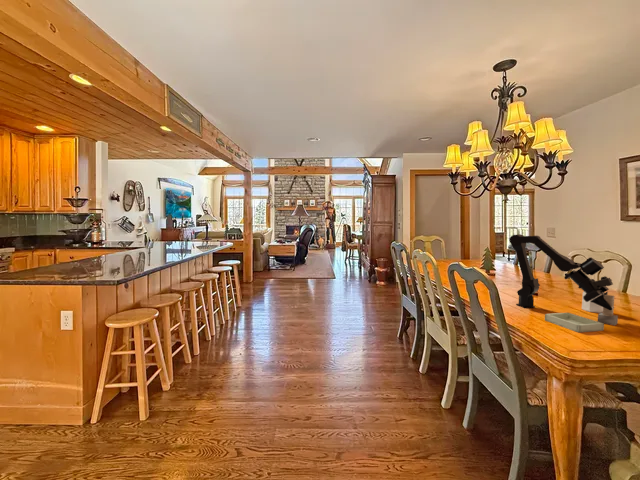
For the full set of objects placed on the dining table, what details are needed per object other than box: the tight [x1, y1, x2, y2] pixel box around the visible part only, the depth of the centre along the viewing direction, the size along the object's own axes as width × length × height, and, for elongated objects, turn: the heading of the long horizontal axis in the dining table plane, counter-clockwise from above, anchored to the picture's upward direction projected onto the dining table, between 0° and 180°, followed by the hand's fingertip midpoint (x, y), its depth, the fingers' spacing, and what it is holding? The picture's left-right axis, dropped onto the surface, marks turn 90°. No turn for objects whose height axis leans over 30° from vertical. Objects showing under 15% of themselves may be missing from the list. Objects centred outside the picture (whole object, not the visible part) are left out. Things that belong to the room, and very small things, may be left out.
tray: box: [544, 312, 605, 333], centre depth 142 cm, size 16×13×3 cm
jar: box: [581, 291, 603, 314], centre depth 164 cm, size 9×8×12 cm
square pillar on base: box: [597, 294, 619, 326], centre depth 145 cm, size 6×5×12 cm
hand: (612, 309), depth 144 cm, fingers closed on square pillar on base, 3 cm apart
